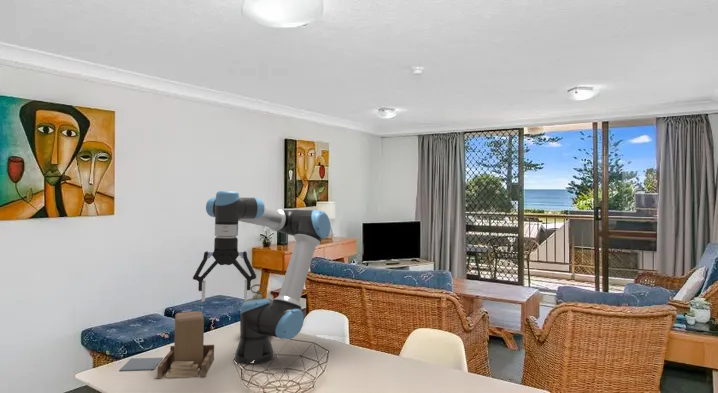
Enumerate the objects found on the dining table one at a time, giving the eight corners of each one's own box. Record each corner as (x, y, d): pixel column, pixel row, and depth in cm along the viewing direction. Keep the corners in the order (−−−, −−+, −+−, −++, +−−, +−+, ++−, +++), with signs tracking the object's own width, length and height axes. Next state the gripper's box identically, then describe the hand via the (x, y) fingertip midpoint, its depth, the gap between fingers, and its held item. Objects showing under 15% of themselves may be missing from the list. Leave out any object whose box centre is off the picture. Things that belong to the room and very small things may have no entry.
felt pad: (131, 359, 177) (131, 358, 177) (162, 358, 179) (162, 357, 179) (119, 371, 165) (119, 369, 165) (153, 370, 167) (153, 368, 167)
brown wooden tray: (170, 361, 177) (171, 345, 177) (213, 359, 179) (214, 344, 179) (157, 378, 159) (157, 361, 159) (205, 377, 161) (205, 360, 162)
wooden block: (173, 364, 173) (175, 312, 173) (201, 361, 177) (202, 310, 177) (174, 373, 164) (175, 319, 164) (203, 369, 168) (204, 316, 168)
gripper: (185, 237, 144) (183, 303, 144) (264, 238, 149) (262, 301, 149) (188, 235, 151) (187, 298, 151) (264, 236, 156) (262, 297, 156)
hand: (224, 300), depth 150 cm, fingers open, 13 cm apart
